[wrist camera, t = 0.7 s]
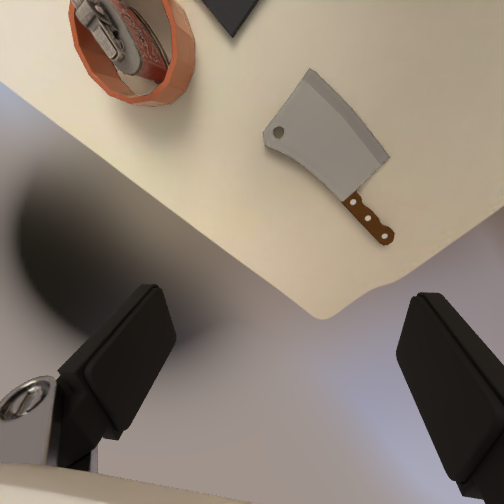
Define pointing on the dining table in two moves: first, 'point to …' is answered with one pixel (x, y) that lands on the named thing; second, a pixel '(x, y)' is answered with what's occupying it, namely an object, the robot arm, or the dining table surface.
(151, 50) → the lighter
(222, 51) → the dining table surface
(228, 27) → the mat
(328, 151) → the kitchen cleaver
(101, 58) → the orange hollow ring
